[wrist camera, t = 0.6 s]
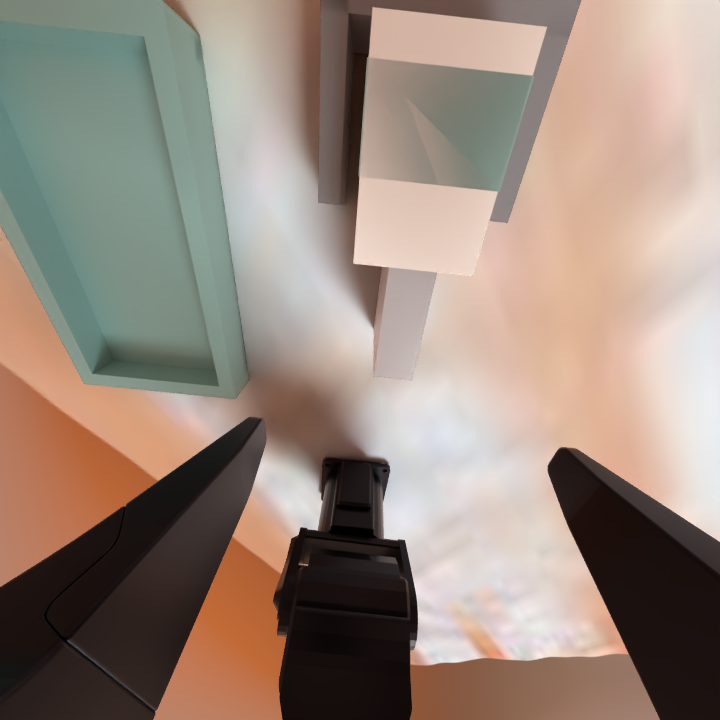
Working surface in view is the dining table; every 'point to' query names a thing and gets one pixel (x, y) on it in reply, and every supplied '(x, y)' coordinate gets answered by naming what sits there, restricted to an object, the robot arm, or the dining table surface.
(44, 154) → the tray
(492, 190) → the teal striped block
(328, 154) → the bay
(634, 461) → the dining table surface
